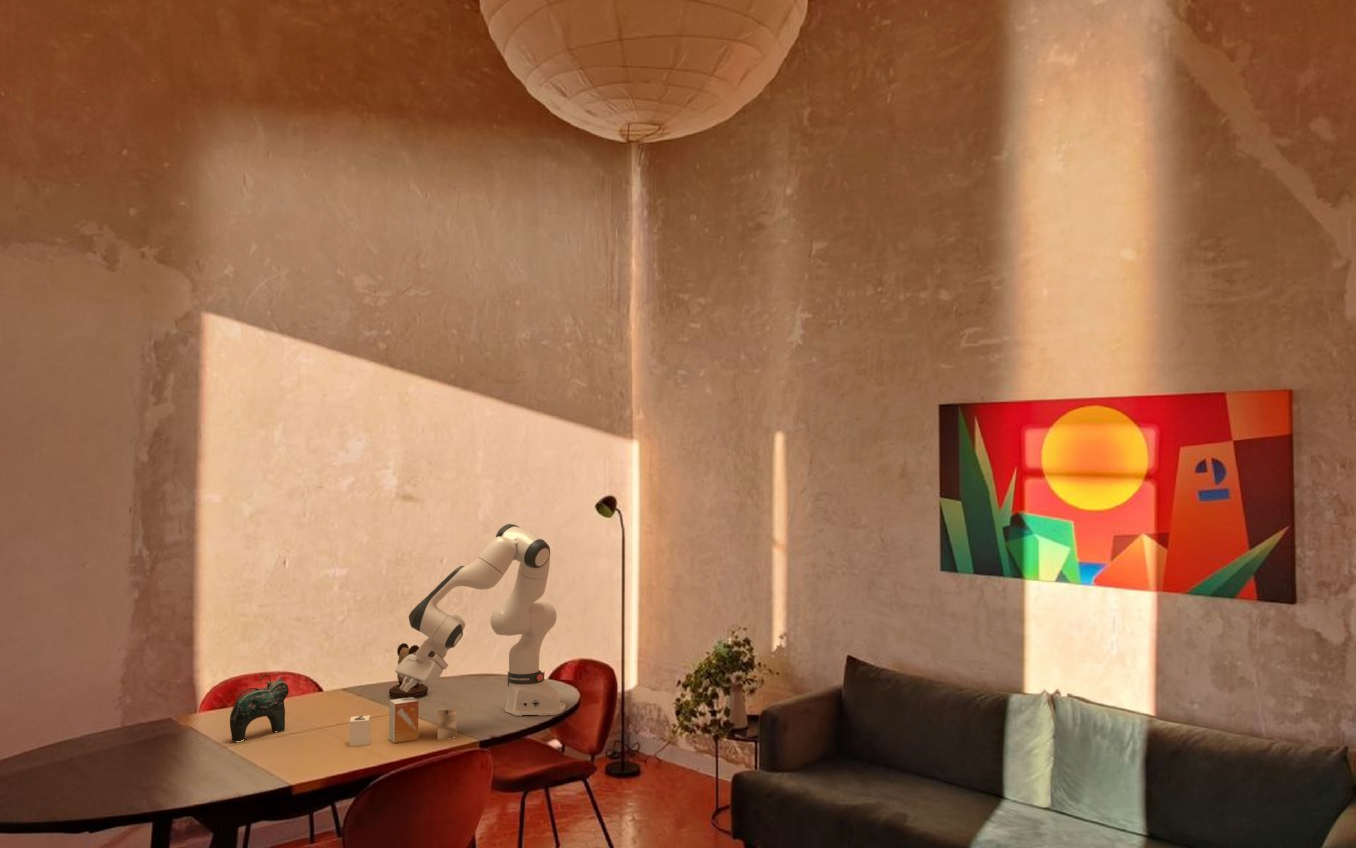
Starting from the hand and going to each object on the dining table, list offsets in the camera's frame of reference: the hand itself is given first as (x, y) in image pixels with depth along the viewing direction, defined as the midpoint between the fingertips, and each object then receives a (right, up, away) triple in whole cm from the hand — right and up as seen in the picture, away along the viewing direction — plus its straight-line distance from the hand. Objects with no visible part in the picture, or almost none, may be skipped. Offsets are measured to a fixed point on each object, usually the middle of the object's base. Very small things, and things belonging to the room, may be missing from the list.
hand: (403, 690), depth 322 cm
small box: (0, -16, -1) cm, 16 cm away
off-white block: (-13, -16, -5) cm, 21 cm away
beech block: (+14, -16, +2) cm, 22 cm away
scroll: (-14, -18, +57) cm, 61 cm away
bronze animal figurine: (-49, -17, +4) cm, 52 cm away
